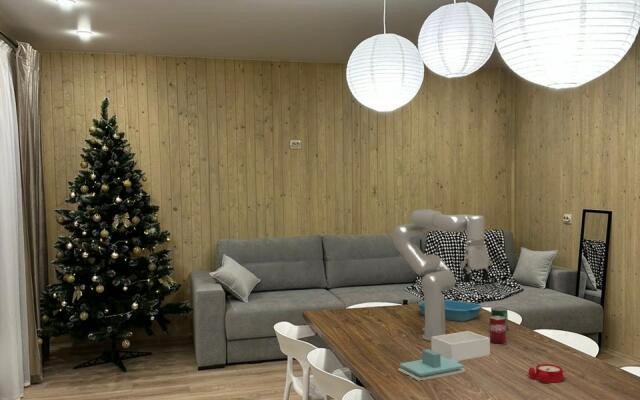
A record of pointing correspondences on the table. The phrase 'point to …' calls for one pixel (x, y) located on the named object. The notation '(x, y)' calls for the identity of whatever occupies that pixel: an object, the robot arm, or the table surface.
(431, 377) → the mat
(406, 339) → the table surface
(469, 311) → the casserole dish
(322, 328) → the table surface
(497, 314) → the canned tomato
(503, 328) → the soda can
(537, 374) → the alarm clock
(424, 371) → the lid
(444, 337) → the tub
